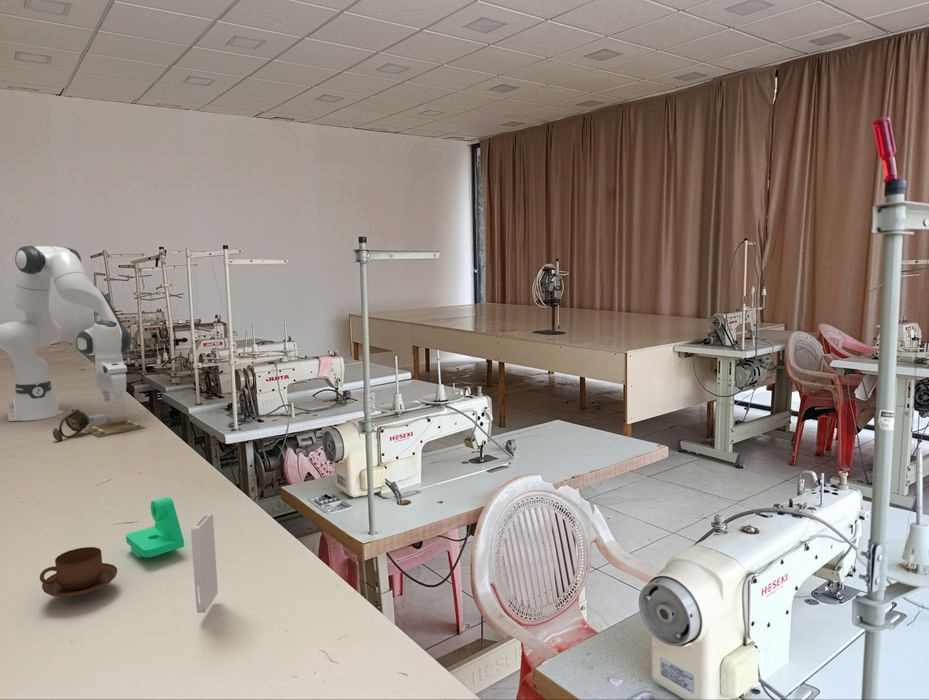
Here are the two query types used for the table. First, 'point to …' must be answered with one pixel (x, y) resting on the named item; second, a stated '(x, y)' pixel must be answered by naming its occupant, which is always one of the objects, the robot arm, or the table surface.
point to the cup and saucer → (78, 573)
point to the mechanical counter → (72, 423)
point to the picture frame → (113, 428)
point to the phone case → (204, 562)
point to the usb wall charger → (98, 419)
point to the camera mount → (158, 531)
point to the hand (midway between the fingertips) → (112, 403)
